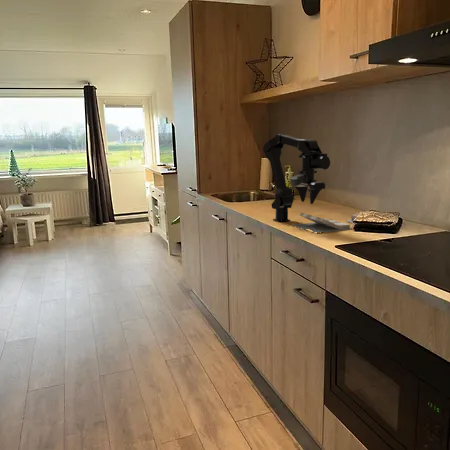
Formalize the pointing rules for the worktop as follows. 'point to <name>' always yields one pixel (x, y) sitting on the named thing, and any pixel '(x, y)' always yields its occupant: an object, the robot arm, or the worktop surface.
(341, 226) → the grey flat block
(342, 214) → the worktop surface
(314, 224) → the underlay mat
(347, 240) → the worktop surface
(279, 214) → the robot arm
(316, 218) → the loose plank
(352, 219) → the packaged product
